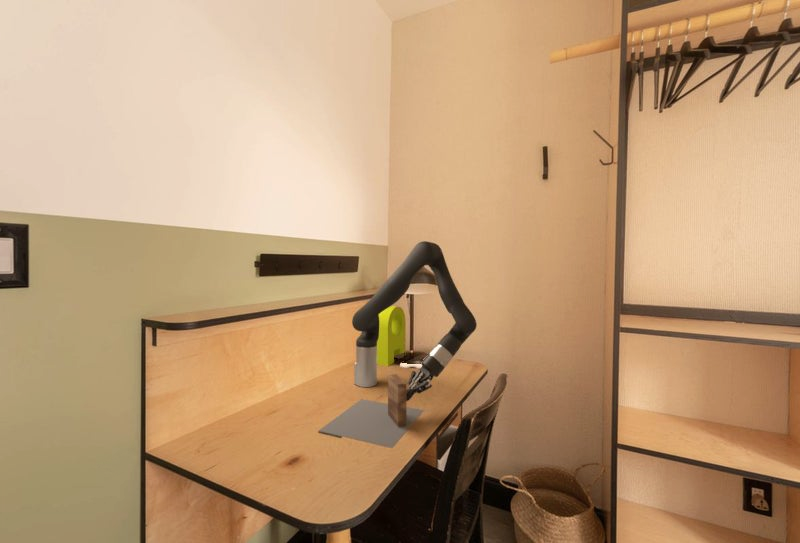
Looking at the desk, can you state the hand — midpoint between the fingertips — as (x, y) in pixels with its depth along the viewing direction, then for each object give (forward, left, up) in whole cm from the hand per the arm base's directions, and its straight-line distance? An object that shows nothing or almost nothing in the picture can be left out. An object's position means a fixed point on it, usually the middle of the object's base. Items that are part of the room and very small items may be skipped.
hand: (404, 398), depth 120 cm
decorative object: (-34, +64, -8) cm, 73 cm away
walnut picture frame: (-2, -2, -7) cm, 7 cm away
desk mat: (-9, -5, -7) cm, 13 cm away
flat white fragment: (-17, +68, -8) cm, 71 cm away
